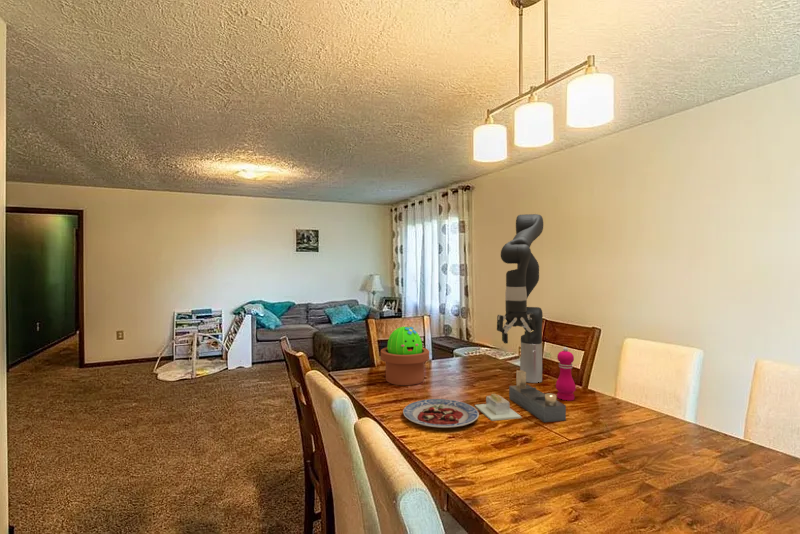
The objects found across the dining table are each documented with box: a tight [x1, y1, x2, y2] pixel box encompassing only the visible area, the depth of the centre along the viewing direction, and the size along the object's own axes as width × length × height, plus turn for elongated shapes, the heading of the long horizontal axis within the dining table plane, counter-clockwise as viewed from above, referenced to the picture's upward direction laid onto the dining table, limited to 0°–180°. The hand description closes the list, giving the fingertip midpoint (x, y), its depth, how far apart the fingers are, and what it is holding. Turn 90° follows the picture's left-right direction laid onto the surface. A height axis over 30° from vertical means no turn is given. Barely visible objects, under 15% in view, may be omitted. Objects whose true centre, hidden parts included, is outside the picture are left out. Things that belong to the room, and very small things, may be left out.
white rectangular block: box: [485, 393, 511, 415], centre depth 140 cm, size 8×5×5 cm, turn 13°
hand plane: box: [508, 369, 567, 423], centre depth 143 cm, size 24×8×11 cm, turn 12°
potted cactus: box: [380, 325, 430, 386], centre depth 180 cm, size 22×22×25 cm
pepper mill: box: [555, 346, 577, 402], centre depth 155 cm, size 7×7×20 cm
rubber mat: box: [474, 403, 522, 421], centre depth 140 cm, size 14×11×1 cm
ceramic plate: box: [402, 398, 480, 429], centre depth 135 cm, size 26×26×3 cm
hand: (516, 342), depth 146 cm, fingers open, 8 cm apart
